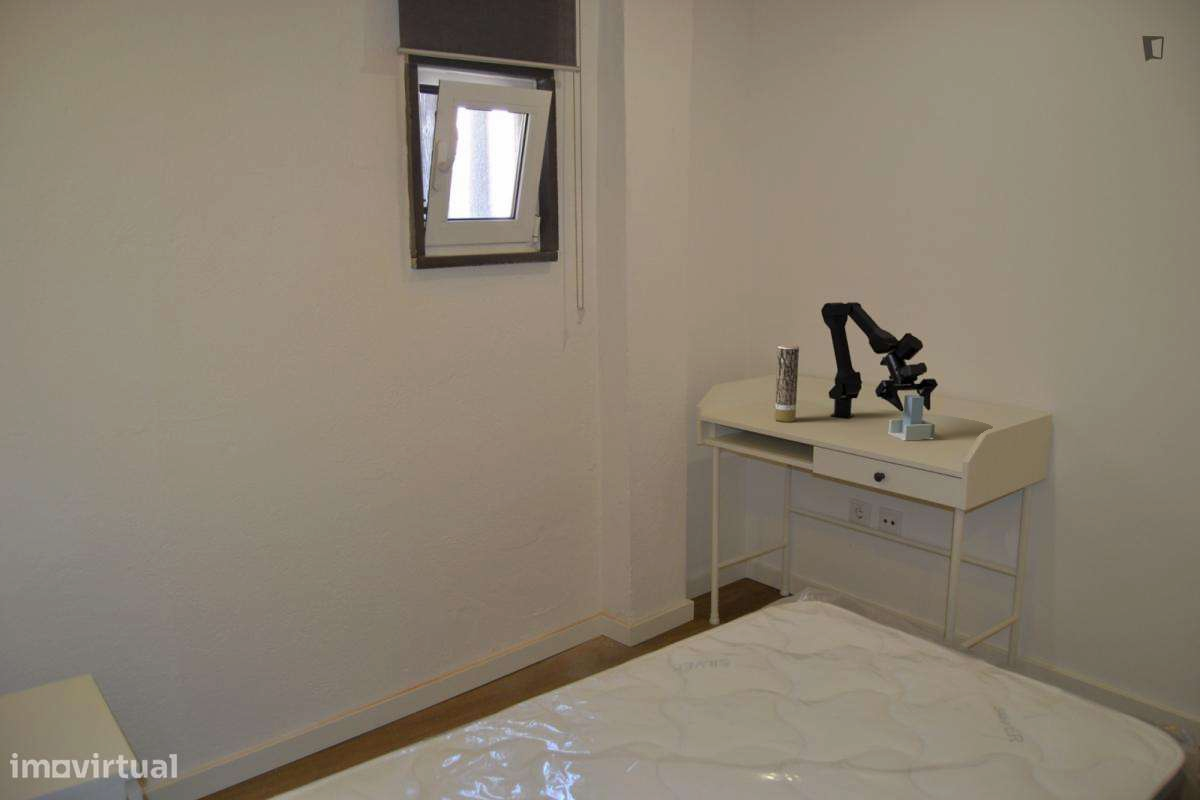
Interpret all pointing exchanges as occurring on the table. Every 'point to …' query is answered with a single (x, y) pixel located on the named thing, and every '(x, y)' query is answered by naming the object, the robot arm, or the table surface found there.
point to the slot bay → (911, 430)
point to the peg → (912, 410)
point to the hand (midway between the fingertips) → (915, 410)
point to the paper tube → (786, 383)
